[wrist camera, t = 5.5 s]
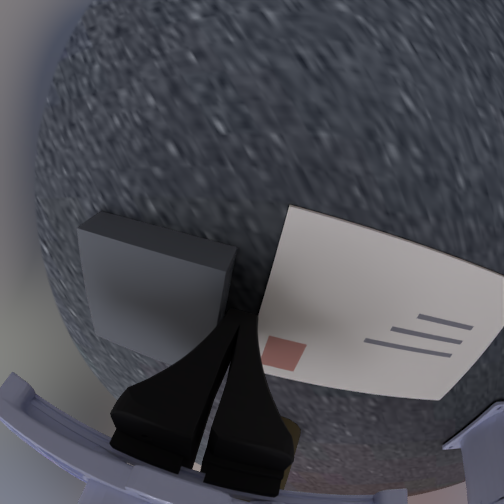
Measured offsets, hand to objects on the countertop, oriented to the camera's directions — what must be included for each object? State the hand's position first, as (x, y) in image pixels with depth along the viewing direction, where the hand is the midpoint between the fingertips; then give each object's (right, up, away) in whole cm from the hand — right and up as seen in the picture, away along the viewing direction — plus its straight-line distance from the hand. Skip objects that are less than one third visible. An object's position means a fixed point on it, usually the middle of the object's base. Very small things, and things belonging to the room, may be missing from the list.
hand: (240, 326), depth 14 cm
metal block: (-4, +2, +2) cm, 5 cm away
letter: (+8, -1, 0) cm, 8 cm away
